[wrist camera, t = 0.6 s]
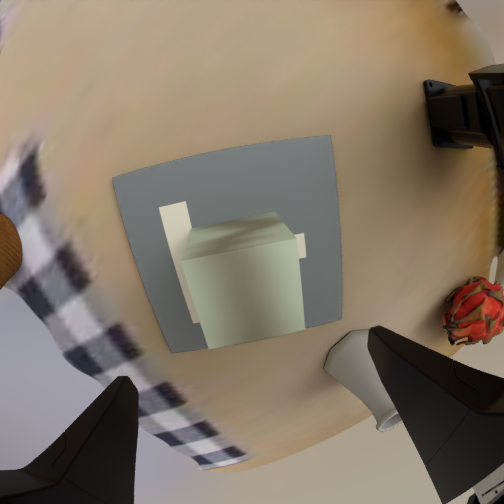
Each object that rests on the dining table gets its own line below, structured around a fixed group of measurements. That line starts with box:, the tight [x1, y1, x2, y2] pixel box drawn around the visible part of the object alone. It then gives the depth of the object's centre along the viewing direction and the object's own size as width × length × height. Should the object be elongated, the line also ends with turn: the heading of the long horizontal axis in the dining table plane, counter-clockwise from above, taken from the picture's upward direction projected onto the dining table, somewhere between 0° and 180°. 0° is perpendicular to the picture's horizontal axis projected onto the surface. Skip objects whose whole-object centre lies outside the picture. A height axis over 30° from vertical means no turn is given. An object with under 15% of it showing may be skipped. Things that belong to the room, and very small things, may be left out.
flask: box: [324, 330, 403, 432], centre depth 22 cm, size 7×7×10 cm
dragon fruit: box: [442, 276, 504, 346], centre depth 23 cm, size 8×8×12 cm
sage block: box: [181, 212, 305, 349], centre depth 18 cm, size 6×6×6 cm
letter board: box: [112, 135, 342, 353], centre depth 21 cm, size 16×16×1 cm
